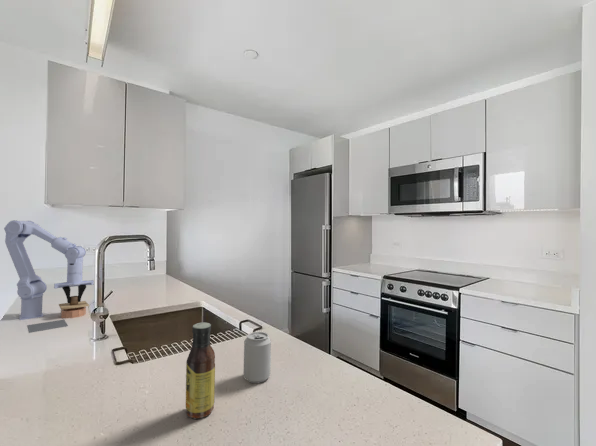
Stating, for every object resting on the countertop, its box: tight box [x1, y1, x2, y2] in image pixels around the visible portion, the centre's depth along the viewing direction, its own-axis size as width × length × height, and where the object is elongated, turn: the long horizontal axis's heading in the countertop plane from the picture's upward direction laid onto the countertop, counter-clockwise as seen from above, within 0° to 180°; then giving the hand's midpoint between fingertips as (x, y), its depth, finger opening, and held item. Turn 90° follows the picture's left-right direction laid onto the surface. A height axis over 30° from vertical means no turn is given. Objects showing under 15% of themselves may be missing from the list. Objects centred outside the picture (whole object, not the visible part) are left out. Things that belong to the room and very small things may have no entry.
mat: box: [26, 319, 69, 334], centre depth 123 cm, size 12×12×1 cm
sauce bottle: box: [185, 322, 216, 419], centre depth 68 cm, size 7×6×20 cm
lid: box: [58, 295, 90, 311], centre depth 138 cm, size 10×10×4 cm
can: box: [243, 331, 272, 384], centre depth 84 cm, size 8×8×12 cm
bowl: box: [60, 306, 87, 319], centre depth 138 cm, size 9×9×4 cm
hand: (73, 302), depth 138 cm, fingers closed on lid, 3 cm apart
